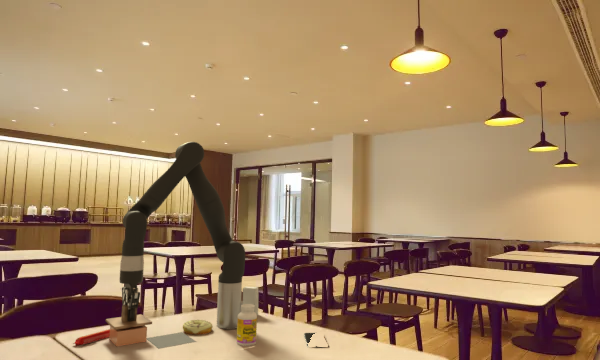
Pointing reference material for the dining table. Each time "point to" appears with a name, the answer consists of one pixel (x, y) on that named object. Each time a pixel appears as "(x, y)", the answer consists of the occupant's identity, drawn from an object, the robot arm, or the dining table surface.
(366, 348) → the dining table surface
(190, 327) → the decorated donut
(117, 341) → the open box
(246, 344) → the supplement bottle
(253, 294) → the skincare box
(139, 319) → the lid
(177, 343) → the mat
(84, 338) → the candy bar
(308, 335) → the smartphone
